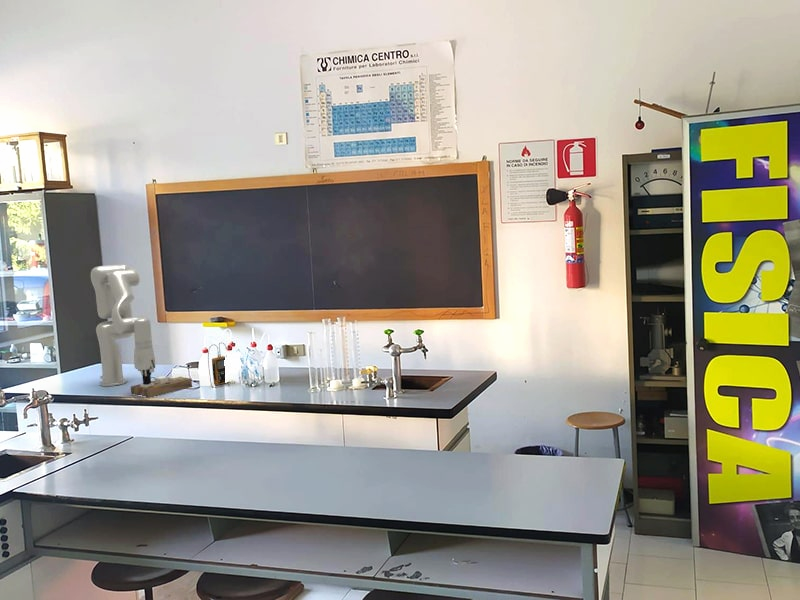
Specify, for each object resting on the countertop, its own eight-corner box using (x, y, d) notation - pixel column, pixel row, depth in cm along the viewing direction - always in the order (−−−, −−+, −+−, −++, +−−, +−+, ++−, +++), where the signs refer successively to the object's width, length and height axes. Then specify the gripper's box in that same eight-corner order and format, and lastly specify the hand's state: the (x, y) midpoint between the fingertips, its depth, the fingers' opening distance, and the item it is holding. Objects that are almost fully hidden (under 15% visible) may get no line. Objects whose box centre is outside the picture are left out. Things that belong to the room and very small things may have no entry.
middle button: (155, 387, 359) (154, 378, 358) (162, 385, 362) (161, 376, 362) (161, 388, 356) (160, 378, 356) (168, 386, 360) (167, 376, 359)
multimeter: (221, 388, 357) (217, 347, 355) (207, 386, 363) (204, 345, 361) (245, 382, 369) (241, 341, 367) (231, 380, 375) (228, 340, 373)
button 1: (141, 394, 353) (140, 384, 352) (148, 392, 356) (148, 382, 356) (147, 395, 350) (146, 385, 349) (154, 392, 354) (154, 383, 353)
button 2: (169, 386, 366) (168, 377, 365) (176, 384, 369) (175, 375, 369) (175, 387, 363) (174, 378, 363) (182, 385, 367) (181, 376, 366)
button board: (131, 394, 354) (130, 385, 353) (173, 384, 373) (172, 375, 373) (150, 397, 346) (149, 388, 345) (192, 386, 365) (191, 377, 365)
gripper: (126, 345, 352) (130, 384, 354) (147, 347, 343) (150, 387, 345) (140, 342, 358) (143, 380, 360) (160, 344, 349) (164, 383, 351)
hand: (147, 383), depth 352 cm, fingers closed
